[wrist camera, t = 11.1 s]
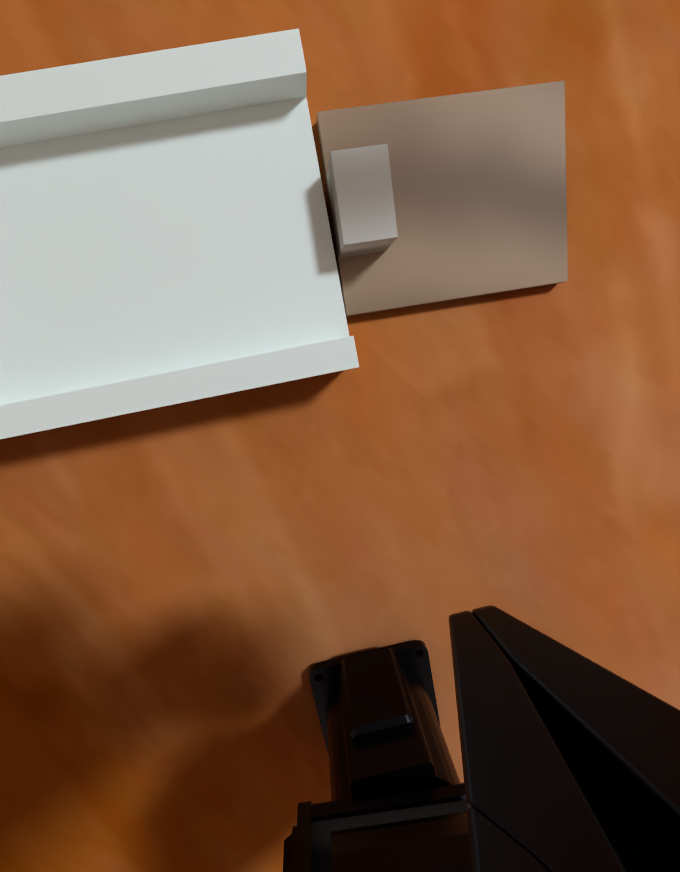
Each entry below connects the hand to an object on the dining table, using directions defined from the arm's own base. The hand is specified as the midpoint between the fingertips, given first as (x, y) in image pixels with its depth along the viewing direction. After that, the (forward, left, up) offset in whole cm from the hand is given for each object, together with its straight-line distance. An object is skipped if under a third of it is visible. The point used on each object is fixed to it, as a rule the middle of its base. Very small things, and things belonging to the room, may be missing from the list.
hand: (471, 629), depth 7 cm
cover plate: (+10, -5, -13) cm, 17 cm away
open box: (+10, +8, -12) cm, 18 cm away
